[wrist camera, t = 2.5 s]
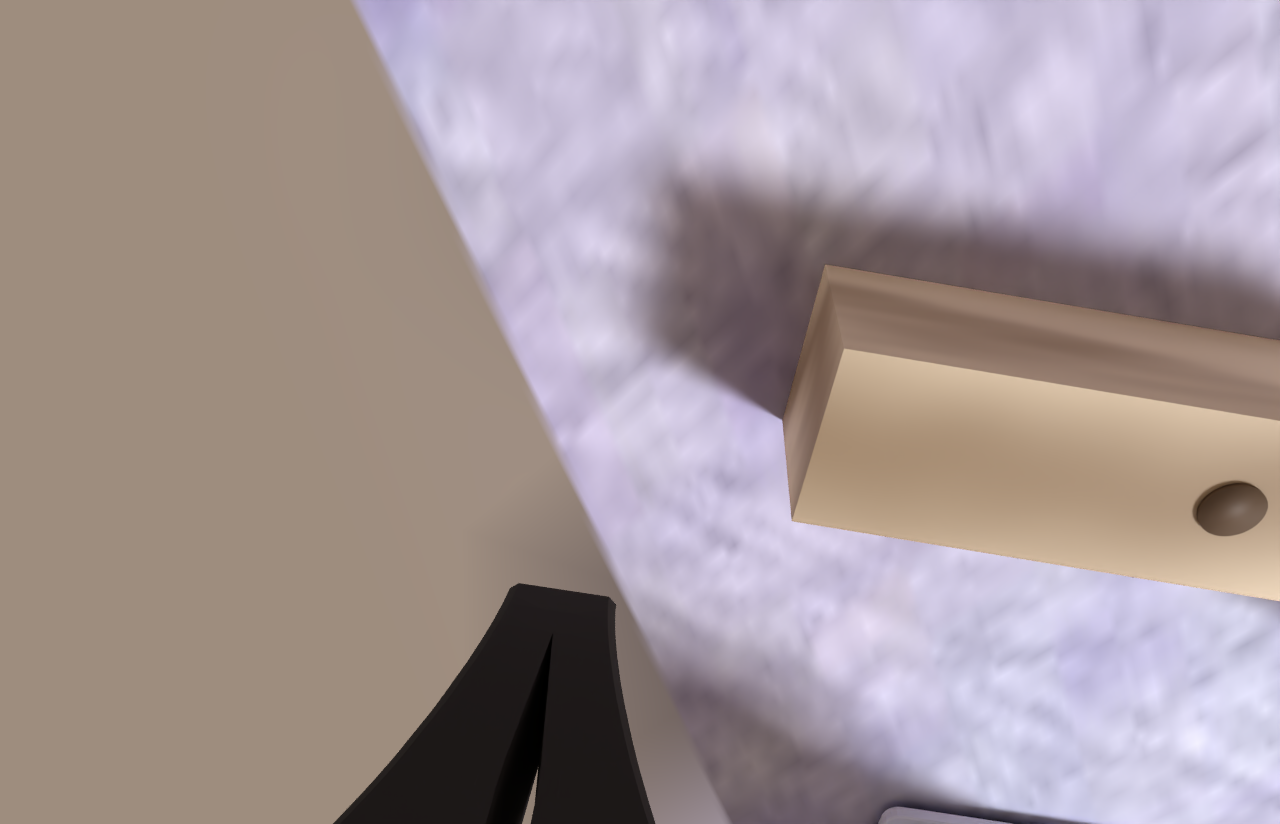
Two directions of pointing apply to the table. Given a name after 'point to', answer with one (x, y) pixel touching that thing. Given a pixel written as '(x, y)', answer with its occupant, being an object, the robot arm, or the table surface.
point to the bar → (1038, 432)
